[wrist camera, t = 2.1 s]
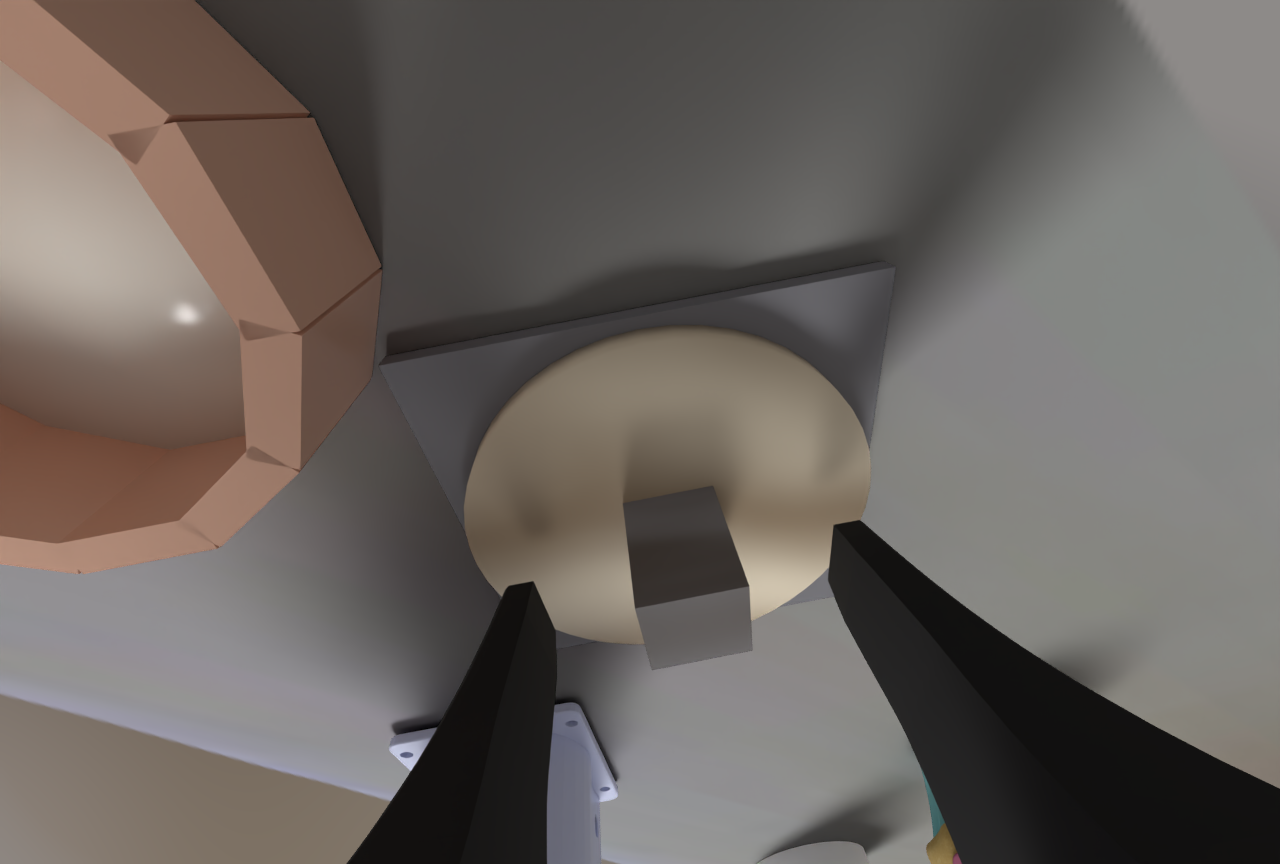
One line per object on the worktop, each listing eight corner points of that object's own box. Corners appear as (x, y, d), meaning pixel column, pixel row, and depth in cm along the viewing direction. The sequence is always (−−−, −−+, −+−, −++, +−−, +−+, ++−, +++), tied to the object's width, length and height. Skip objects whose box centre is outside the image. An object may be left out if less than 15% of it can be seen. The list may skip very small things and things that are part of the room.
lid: (840, 588, 17) (904, 704, 14) (535, 648, 17) (525, 778, 14) (879, 281, 11) (1013, 359, 7) (396, 376, 11) (317, 495, 7)
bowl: (450, 414, 12) (408, 512, 9) (57, 489, 12) (-108, 610, 9) (162, -214, 6) (-188, -484, 3) (-578, -71, 6) (-1541, -220, 3)
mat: (842, 582, 18) (848, 593, 17) (530, 641, 18) (529, 654, 17) (883, 261, 11) (896, 266, 11) (385, 355, 11) (378, 366, 11)
